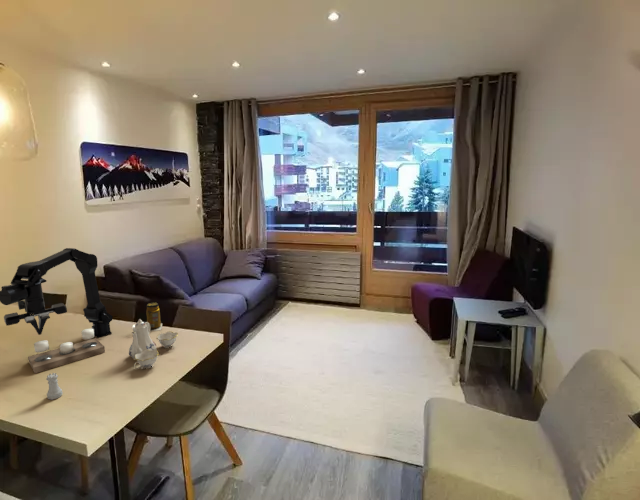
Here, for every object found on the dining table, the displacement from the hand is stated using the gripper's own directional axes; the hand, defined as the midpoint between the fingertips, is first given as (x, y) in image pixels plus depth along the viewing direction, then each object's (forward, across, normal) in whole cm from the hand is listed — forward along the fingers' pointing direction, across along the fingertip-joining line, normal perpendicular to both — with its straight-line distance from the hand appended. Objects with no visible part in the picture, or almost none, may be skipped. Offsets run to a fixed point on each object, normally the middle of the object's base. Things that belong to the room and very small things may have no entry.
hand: (39, 334), depth 142 cm
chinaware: (+13, -32, +23) cm, 42 cm away
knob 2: (+7, -16, 0) cm, 17 cm away
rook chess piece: (+13, +2, +29) cm, 32 cm away
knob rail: (+13, -8, 0) cm, 15 cm away
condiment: (+13, -45, -5) cm, 47 cm away
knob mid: (+10, -8, 0) cm, 13 cm away
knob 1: (+7, 0, 0) cm, 7 cm away
